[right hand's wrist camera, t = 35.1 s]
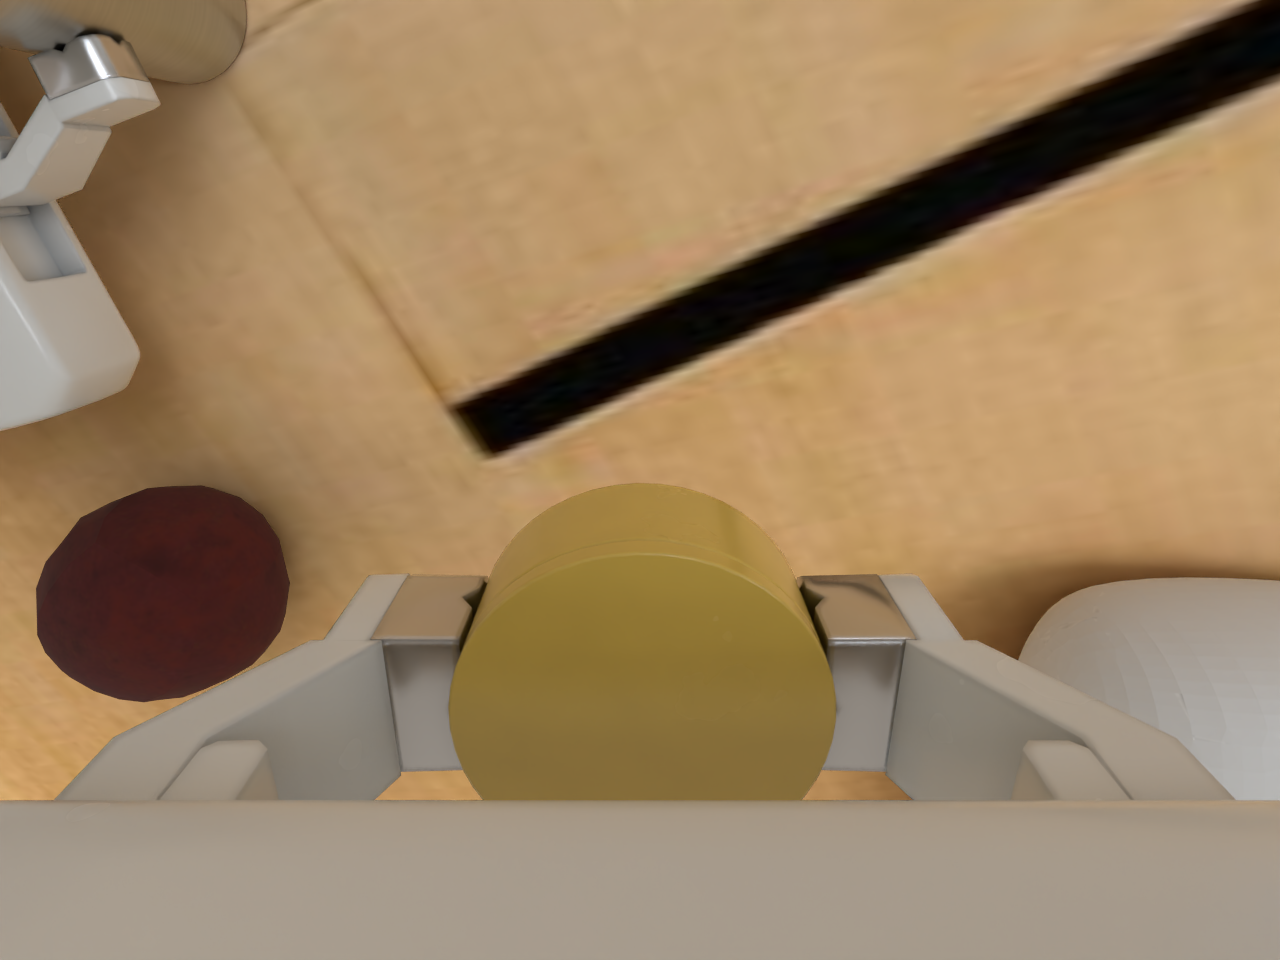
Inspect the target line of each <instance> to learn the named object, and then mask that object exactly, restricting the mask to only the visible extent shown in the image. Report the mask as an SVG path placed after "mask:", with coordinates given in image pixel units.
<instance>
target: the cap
mask: <svg viewBox="0 0 1280 960" xmlns="http://www.w3.org/2000/svg"><path fill="white" fill-rule="evenodd" d="M448 711H449V726H450V732H451V736H452V740H453V745H454V749H455V752H456V754H457V757H458V759H459V762H460V764H461V767H462V769H463V771H464V773H465V774H466V776H467V778H468V779H469V781H470V783H471V785H472V786H473V788H474V789H475V790H476V792H477V793H478V794H479V795H480V797H481V798H482V799H483V800H802V799H803V798H804V797H805V795H806V794H807V792H808V791H809V790H810V788H811V787H812V785H813V784H814V782H815V781H816V779H817V778H818V776H819V774H820V772H821V770H822V768H823V766H824V764H825V762H826V759H827V756H828V753H829V750H830V747H831V744H832V741H833V736H834V730H835V724H836V694H835V687H834V681H833V676H832V673H831V670H830V667H829V664H828V661H827V658H826V656H825V653H824V650H823V648H822V645H821V643H820V640H819V638H818V635H817V633H816V630H815V627H814V625H813V622H812V620H811V617H810V615H809V612H808V610H807V607H806V604H805V602H804V599H803V597H802V594H801V592H800V589H799V587H798V584H797V581H796V579H795V576H794V574H793V572H792V570H791V568H790V566H789V564H788V562H787V560H786V558H785V557H784V555H783V554H782V552H781V551H780V550H779V548H778V547H777V545H776V544H775V543H774V541H773V540H772V539H771V538H770V537H769V536H768V535H767V534H766V533H765V532H764V531H763V530H762V529H761V528H760V527H759V526H758V525H757V524H756V523H754V522H753V521H752V520H751V519H749V518H748V517H747V516H746V515H744V514H743V513H741V512H740V511H738V510H736V509H735V508H733V507H731V506H730V505H728V504H726V503H724V502H722V501H720V500H718V499H715V498H713V497H711V496H708V495H706V494H703V493H700V492H696V491H693V490H689V489H686V488H682V487H676V486H670V485H663V484H647V483H633V484H622V485H613V486H608V487H603V488H599V489H594V490H590V491H588V492H585V493H582V494H579V495H576V496H573V497H571V498H569V499H567V500H565V501H563V502H560V503H558V504H556V505H554V506H552V507H551V508H549V509H548V510H546V511H545V512H543V513H542V514H540V515H539V516H537V517H536V518H534V519H533V520H532V521H531V522H530V523H529V524H527V525H526V526H525V527H524V528H523V529H522V530H521V531H520V532H519V533H518V534H517V535H516V536H515V537H514V538H513V540H512V541H511V542H510V543H509V544H508V545H507V547H506V548H505V549H504V551H503V552H502V554H501V556H500V557H499V559H498V560H497V562H496V564H495V566H494V568H493V570H492V572H491V575H490V577H489V579H488V582H487V584H486V587H485V589H484V592H483V595H482V597H481V600H480V603H479V605H478V608H477V611H476V613H475V616H474V619H473V621H472V624H471V627H470V629H469V632H468V635H467V637H466V640H465V642H464V645H463V648H462V651H461V653H460V656H459V658H458V661H457V664H456V666H455V670H454V674H453V678H452V682H451V686H450V694H449V705H448Z"/></svg>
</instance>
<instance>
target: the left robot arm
mask: <svg viewBox="0 0 1280 960" xmlns="http://www.w3.org/2000/svg"><path fill="white" fill-rule="evenodd" d="M28 60H29V62H30V64H31V66H32V68H33V70H34V72H35V73H36V75H37V77H38V79H39V81H40V83H41V85H42V87H43V89H44V91H45V93H46V95H44V96H43V97H42V99H41V101H40V102H39V104H38V106H37V107H36V109H35V111H34V112H33V114H32V115H31V117H30V119H29V120H28V122H27V124H26V125H25V127H24V129H23V130H22V132H21V134H20V135H19V134H18V132H17V130H16V129H15V127H14V125H13V123H12V122H11V120H10V118H9V116H8V114H7V113H6V111H5V109H4V107H3V106H2V104H1V102H0V431H3V430H7V429H11V428H16V427H19V426H23V425H27V424H31V423H35V422H38V421H42V420H45V419H48V418H51V417H54V416H58V415H60V414H63V413H66V412H69V411H72V410H74V409H77V408H80V407H83V406H86V405H88V404H91V403H94V402H97V401H99V400H102V399H104V398H106V397H109V396H111V395H113V394H116V393H118V392H120V391H122V390H124V389H125V388H126V387H127V386H128V385H129V383H130V380H131V378H132V376H133V374H134V372H135V369H136V367H137V365H138V362H139V359H140V351H139V347H138V345H137V343H136V341H135V339H134V337H133V335H132V334H131V332H130V330H129V329H128V327H127V325H126V323H125V322H124V320H123V318H122V316H121V314H120V313H119V311H118V309H117V307H116V306H115V304H114V302H113V300H112V299H111V297H110V295H109V293H108V291H107V290H106V288H105V286H104V284H103V283H102V281H101V279H100V277H99V276H98V274H97V272H96V270H95V268H94V267H93V265H92V263H91V261H90V260H89V258H88V256H87V254H86V252H85V251H84V249H83V247H82V245H81V244H80V242H79V240H78V238H77V237H76V235H75V233H74V231H73V229H72V228H71V226H70V224H69V222H68V221H67V219H66V217H65V215H64V213H63V212H62V210H61V208H60V206H59V205H58V203H57V201H56V200H57V199H59V198H62V197H64V196H67V195H69V194H72V193H74V192H77V191H80V190H82V189H83V187H84V185H85V184H86V182H87V180H88V178H89V176H90V174H91V172H92V170H93V168H94V166H95V164H96V162H97V160H98V158H99V156H100V154H101V152H102V151H103V149H104V147H105V145H106V143H107V141H108V139H109V137H110V135H111V133H112V131H111V129H110V127H111V126H113V125H116V124H118V123H121V122H124V121H126V120H129V119H131V118H134V117H136V116H139V115H141V114H144V113H146V112H149V111H151V110H154V109H156V108H157V107H158V106H160V105H161V104H160V101H159V99H158V97H157V95H156V93H155V91H154V89H153V87H152V85H151V83H150V81H149V79H148V77H147V75H146V73H145V71H144V69H143V67H142V65H141V63H140V61H139V59H138V57H137V55H136V53H135V51H134V49H133V47H132V45H131V43H130V42H127V41H124V40H120V41H117V42H115V41H114V40H113V39H112V38H111V37H110V36H106V35H96V34H92V35H86V36H81V37H77V38H75V39H73V40H71V41H70V42H68V43H66V45H65V48H64V50H63V51H61V50H56V49H50V50H46V51H43V52H40V53H38V54H36V55H33V56H31V57H29V58H28Z"/></svg>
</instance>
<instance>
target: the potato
mask: <svg viewBox="0 0 1280 960" xmlns="http://www.w3.org/2000/svg"><path fill="white" fill-rule="evenodd" d="M289 585H290V582H289V578H288V574H287V570H286V566H285V562H284V558H283V554H282V550H281V546H280V542H279V538H278V537H277V535H276V534H275V532H274V531H273V530H272V528H271V527H270V525H269V524H268V522H267V521H266V519H265V518H264V516H263V515H262V514H261V513H259V512H258V511H257V510H255V509H254V508H253V507H252V506H250V505H249V504H248V503H246V502H245V501H244V500H242V499H241V498H239V497H236V496H233V495H231V494H228V493H225V492H222V491H219V490H216V489H213V488H209V487H205V486H171V487H157V488H147V489H144V490H142V491H139V492H137V493H134V494H131V495H129V496H126V497H124V498H121V499H119V500H116V501H114V502H111V503H109V504H107V505H105V506H103V507H101V508H99V509H97V510H95V511H93V512H91V513H89V514H87V515H85V516H83V517H81V518H80V519H79V521H78V522H77V523H76V525H75V526H74V527H73V529H72V530H71V531H70V533H69V534H68V535H67V537H66V538H65V539H64V540H63V542H62V543H61V544H60V545H59V547H58V548H57V549H56V550H55V551H54V553H53V554H52V555H51V556H50V558H49V559H48V560H47V561H46V563H45V565H44V568H43V571H42V574H41V577H40V579H39V582H38V585H37V588H36V598H37V635H38V637H39V640H40V642H41V644H42V646H43V648H44V651H45V653H46V654H47V655H48V656H49V657H50V658H51V659H52V660H53V662H54V663H55V664H56V665H57V666H58V667H59V668H60V669H61V670H62V671H63V672H64V673H66V674H67V675H68V676H69V677H71V678H72V679H74V680H76V681H78V682H79V683H81V684H83V685H85V686H86V687H88V688H90V689H92V690H93V691H96V692H99V693H102V694H105V695H108V696H111V697H114V698H117V699H122V700H130V701H139V702H148V701H154V700H162V699H171V698H181V697H185V696H187V695H190V694H193V693H196V692H199V691H201V690H204V689H206V688H208V687H210V686H213V685H215V684H217V683H220V682H222V681H224V680H226V679H229V678H230V677H232V676H234V675H235V674H237V673H239V672H241V671H242V670H244V669H246V668H247V667H249V666H251V665H252V664H253V663H254V662H255V661H256V660H257V659H258V658H259V657H260V656H261V655H262V654H263V653H264V652H265V651H266V649H267V648H268V647H269V645H270V644H271V643H272V641H273V640H274V639H275V637H276V636H277V634H278V633H279V632H280V630H281V627H282V623H283V620H284V617H285V613H286V606H287V599H288V592H289Z"/></svg>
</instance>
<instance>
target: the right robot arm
mask: <svg viewBox="0 0 1280 960" xmlns="http://www.w3.org/2000/svg"><path fill="white" fill-rule="evenodd" d="M488 579H489V578H488V576H467V575H410V574H377V575H369V576H368V577H367V578H366V579H365V581H364V582H363V584H362V585H361V586H360V588H359V589H358V591H357V592H356V594H355V595H354V597H353V598H352V599H351V601H350V602H349V604H348V605H347V607H346V608H345V609H344V611H343V612H342V614H341V615H340V617H339V618H338V619H337V621H336V622H335V624H334V625H333V627H332V628H331V629H330V631H329V632H328V634H327V635H326V637H325V638H324V639H323V640H310V641H308V642H306V643H304V644H302V645H300V646H298V647H296V648H294V649H292V650H290V651H288V652H286V653H284V654H282V655H280V656H278V657H276V658H274V659H272V660H270V661H268V662H266V663H263V664H261V665H259V666H257V667H255V668H253V669H251V670H249V671H247V672H245V673H243V674H241V675H239V676H237V677H235V678H233V679H231V680H229V681H227V682H225V683H223V684H221V685H219V686H217V687H215V688H213V689H211V690H209V691H207V692H205V693H203V694H201V695H198V696H196V697H194V698H192V699H190V700H188V701H186V702H184V703H182V704H180V705H178V706H176V707H174V708H172V709H170V710H168V711H166V712H164V713H162V714H160V715H158V716H156V717H154V718H152V719H150V720H148V721H146V722H144V723H142V724H140V725H138V726H136V727H133V728H131V729H129V730H127V731H125V732H123V733H121V734H119V735H117V736H115V737H113V738H112V740H111V741H110V742H109V743H108V744H107V745H106V746H105V747H104V748H103V749H102V750H101V751H100V752H99V753H98V754H97V755H96V756H95V757H94V758H93V759H92V761H91V762H90V763H89V764H88V765H87V766H86V767H85V768H84V769H83V770H82V771H81V772H80V773H79V774H78V775H77V776H76V777H75V778H74V779H73V780H72V782H71V783H70V784H69V785H68V786H67V787H66V788H65V789H64V790H63V791H62V792H61V793H60V794H59V795H58V796H57V797H56V798H55V799H54V800H0V960H1280V800H1236V799H1235V798H1234V797H1233V796H1232V795H1231V794H1230V793H1229V792H1228V791H1227V790H1226V789H1225V788H1224V787H1223V786H1222V785H1221V784H1220V783H1219V781H1218V780H1217V779H1216V778H1215V777H1214V776H1213V775H1212V774H1211V773H1210V772H1209V771H1208V770H1207V769H1206V768H1205V767H1204V766H1203V765H1202V764H1201V763H1200V762H1199V761H1198V760H1197V759H1196V758H1195V757H1194V755H1193V754H1192V753H1191V752H1190V751H1189V750H1188V749H1187V748H1186V747H1185V746H1184V745H1183V744H1182V743H1181V742H1180V741H1179V740H1178V739H1177V738H1175V737H1173V736H1171V735H1169V734H1167V733H1165V732H1163V731H1161V730H1159V729H1157V728H1155V727H1153V726H1151V725H1149V724H1147V723H1145V722H1143V721H1141V720H1138V719H1136V718H1134V717H1132V716H1130V715H1128V714H1126V713H1124V712H1122V711H1120V710H1118V709H1116V708H1114V707H1112V706H1110V705H1108V704H1106V703H1104V702H1102V701H1100V700H1098V699H1096V698H1094V697H1091V696H1089V695H1087V694H1085V693H1083V692H1081V691H1079V690H1077V689H1075V688H1073V687H1071V686H1069V685H1067V684H1065V683H1063V682H1061V681H1059V680H1057V679H1055V678H1053V677H1051V676H1049V675H1047V674H1044V673H1042V672H1040V671H1038V670H1036V669H1034V668H1032V667H1030V666H1028V665H1026V664H1024V663H1022V662H1020V661H1018V660H1016V659H1014V658H1012V657H1010V656H1008V655H1006V654H1004V653H1002V652H1000V651H998V650H995V649H993V648H991V647H989V646H987V645H985V644H983V643H981V642H979V641H977V640H964V639H963V638H962V636H961V635H960V634H959V632H958V631H957V630H956V628H955V627H954V625H953V624H952V623H951V621H950V620H949V618H948V617H947V616H946V614H945V613H944V611H943V610H942V609H941V607H940V606H939V605H938V603H937V602H936V600H935V599H934V598H933V596H932V595H931V593H930V592H929V591H928V589H927V588H926V587H925V585H924V584H923V582H922V581H921V580H920V578H919V577H918V576H916V575H914V574H912V573H911V574H889V575H877V574H867V575H825V576H801V577H798V578H797V580H796V581H797V584H798V587H799V589H800V592H801V594H802V597H803V599H804V602H805V604H806V607H807V610H808V612H809V615H810V617H811V620H812V622H813V625H814V627H815V630H816V633H817V635H818V638H819V640H820V643H821V645H822V648H823V650H824V653H825V656H826V658H827V661H828V664H829V667H830V670H831V673H832V676H833V681H834V687H835V694H836V724H835V730H834V736H833V741H832V744H831V747H830V750H829V753H828V756H827V759H826V762H825V764H824V766H823V768H822V770H842V771H879V772H886V776H887V777H889V778H890V779H891V780H892V781H893V782H894V783H895V784H896V785H897V786H898V787H899V788H901V789H902V790H903V791H904V792H905V793H906V794H907V795H908V796H909V797H910V798H911V799H913V800H375V799H376V798H377V797H378V796H379V795H380V794H381V793H382V792H383V791H385V790H386V789H387V788H388V787H389V786H390V785H391V784H392V783H393V782H394V781H395V780H396V779H398V778H399V777H400V776H401V772H407V771H443V770H463V769H462V767H461V764H460V762H459V759H458V757H457V754H456V752H455V749H454V745H453V740H452V736H451V732H450V726H449V711H448V705H449V694H450V686H451V682H452V678H453V674H454V670H455V666H456V664H457V661H458V658H459V656H460V653H461V651H462V648H463V645H464V642H465V640H466V637H467V635H468V632H469V629H470V627H471V624H472V621H473V619H474V616H475V613H476V611H477V608H478V605H479V603H480V600H481V597H482V595H483V592H484V589H485V587H486V584H487V582H488Z"/></svg>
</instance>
